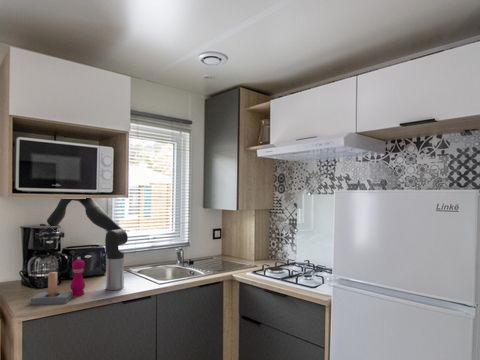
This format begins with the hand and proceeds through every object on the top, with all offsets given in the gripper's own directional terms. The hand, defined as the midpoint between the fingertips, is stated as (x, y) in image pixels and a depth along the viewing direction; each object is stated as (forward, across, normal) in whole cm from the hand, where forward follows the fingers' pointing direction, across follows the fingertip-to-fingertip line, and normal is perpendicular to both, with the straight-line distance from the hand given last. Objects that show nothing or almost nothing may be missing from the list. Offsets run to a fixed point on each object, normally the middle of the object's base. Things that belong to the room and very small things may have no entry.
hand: (51, 236), depth 186 cm
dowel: (+18, 0, +30) cm, 35 cm away
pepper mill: (+12, +12, +30) cm, 35 cm away
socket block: (+18, 0, +30) cm, 35 cm away
